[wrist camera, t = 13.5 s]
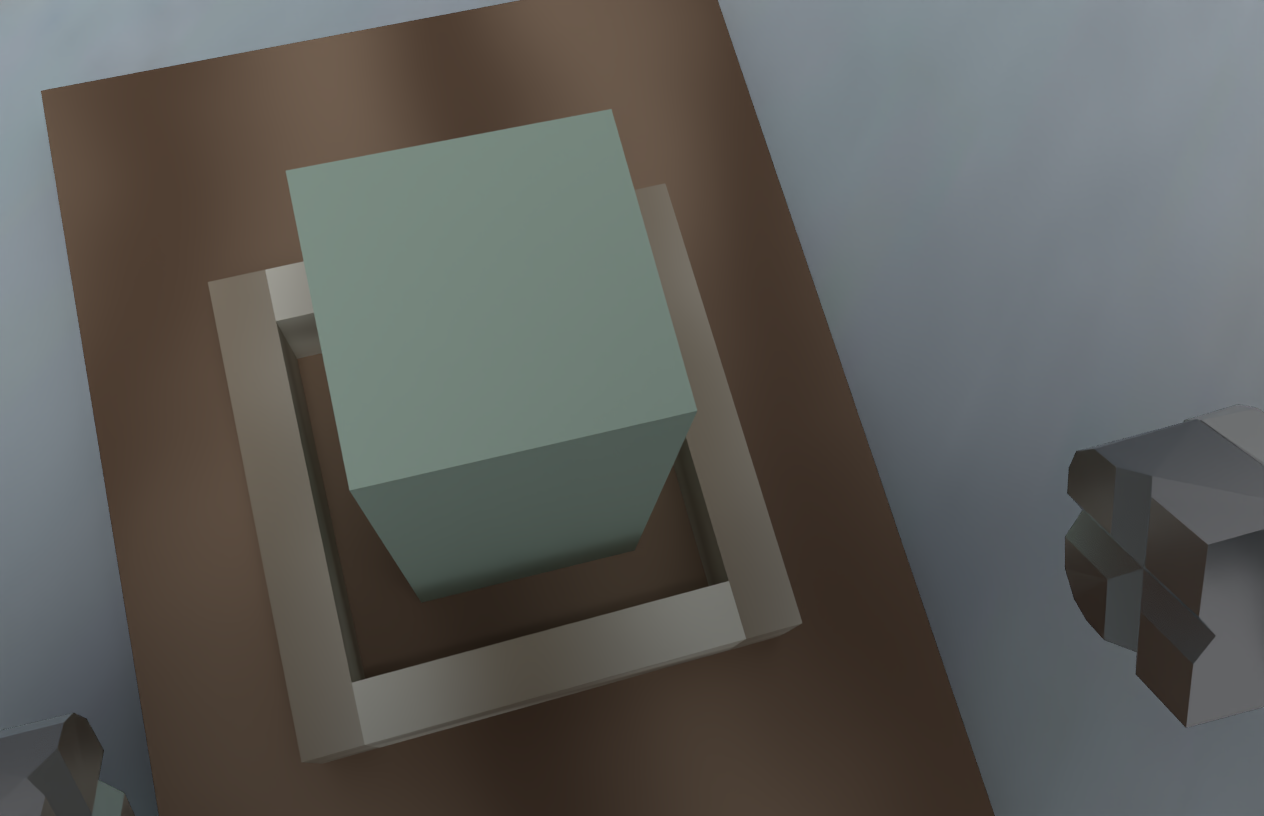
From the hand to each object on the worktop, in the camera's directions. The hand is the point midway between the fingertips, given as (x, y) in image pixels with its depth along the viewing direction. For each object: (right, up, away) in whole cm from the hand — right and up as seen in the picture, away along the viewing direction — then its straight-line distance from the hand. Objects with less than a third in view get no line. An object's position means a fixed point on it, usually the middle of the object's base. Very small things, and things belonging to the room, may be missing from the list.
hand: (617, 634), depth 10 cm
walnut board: (-2, 0, +14) cm, 14 cm away
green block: (-2, +1, +13) cm, 13 cm away
